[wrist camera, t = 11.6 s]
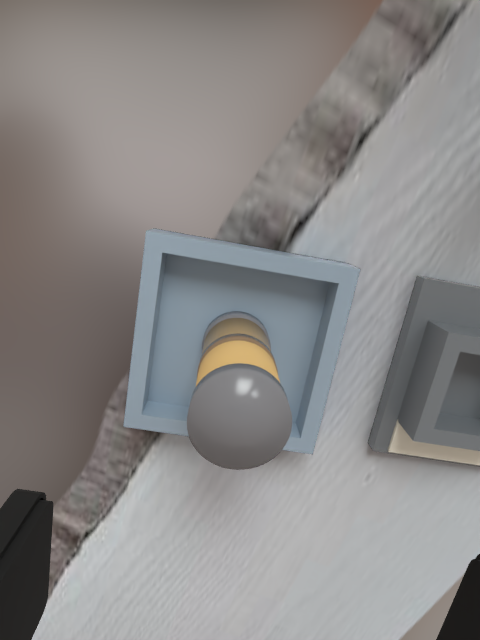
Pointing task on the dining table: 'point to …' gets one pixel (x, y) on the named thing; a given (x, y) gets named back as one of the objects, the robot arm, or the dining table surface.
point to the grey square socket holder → (434, 378)
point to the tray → (225, 296)
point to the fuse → (238, 396)
